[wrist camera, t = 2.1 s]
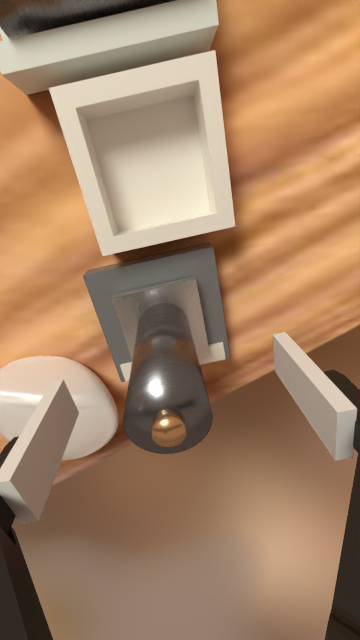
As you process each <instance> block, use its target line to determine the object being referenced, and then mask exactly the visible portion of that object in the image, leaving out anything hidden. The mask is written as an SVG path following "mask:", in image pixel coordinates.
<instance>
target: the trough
mask: <svg viewBox="0 0 360 640" xmlns="http://www.w3.org/2000/svg"><path fill="white" fill-rule="evenodd" d="M218 26H219V22H218V12H217V3H216V0H176V1H172V2H168V3H163V4H159V5H155V6H150V7H146V8H142V9H137V10H133V11H129V12H124V13H120V14H116V15H111V16H107V17H103V18H98V19H94V20H90V21H85V22H81V23H77V24H72V25H68V26H64V27H59V28H55V29H51V30H46V31H42V32H38V33H33V34H29V35H25V36H20V37H16V38H12V39H9V38H8V37H7V35H6V34H5V33H4V32H3V30H2V29H1V27H0V34H1V37H2V40H3V41H0V71H1V74H2V75H3V76H4V77H5V78H7V79H8V80H9V81H10V82H12V83H13V84H14V85H15V86H16V87H18V88H19V89H20V90H21V91H23V92H24V93H25V94H26V95H29V94H33V93H38V92H42V91H46V90H49V88H51V87H56V86H60V85H64V84H69V83H73V82H78V81H82V80H86V79H91V78H95V77H99V76H104V75H108V74H112V73H117V72H121V71H126V70H130V69H134V68H139V67H143V66H147V65H152V64H156V63H160V62H165V61H169V60H173V59H178V58H182V57H187V56H191V55H195V54H200V53H204V52H208V51H209V50H210V48H211V45H212V42H213V39H214V37H215V34H216V31H217V28H218Z"/></svg>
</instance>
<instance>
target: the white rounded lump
mask: <svg viewBox="0 0 360 640" xmlns="http://www.w3.org/2000/svg"><path fill="white" fill-rule="evenodd" d="M62 379H64V381H65V383H66V386H67V388H68V390H69V392H70V394H71V396H72V398H73V401H74V403H75V405H76V407H77V409H78V411H79V415H78V417H77V420H76V423H75V425H74V428H73V431H72V433H71V436H70V439H69V441H68V444H67V447H66V449H65V452H64V455H63V457H62V460H70V459H77V458H81V457H84V456H87V455H89V454H91V453H94V452H95V451H97V450H99V449H100V448H102V447H103V446H104V445H106V444H107V443H108V442H109V441H110V440H111V438H112V437H113V436H114V434H115V432H116V430H117V427H118V411H117V408H116V405H115V402H114V400H113V397H112V396H111V394H110V392H109V390H108V389H107V388H106V386H105V385H104V383H103V382H102V381H101V379H100V378H99V377H98V376H97V375H96V374H95V373H94V372H93V371H91V370H90V369H89V368H87V367H86V366H84V365H83V364H81V363H79V362H77V361H74V360H71V359H68V358H65V357H58V356H35V357H28V358H22V359H19V360H15V361H13V362H11V363H9V364H7V365H5V366H4V367H2V368H1V369H0V433H1V434H2V435H3V436H4V437H5V438H6V439H7V440H8V441H11V440H12V439H13V438H14V437H18V436H20V434H21V433H22V431H23V429H24V428H25V426H26V424H27V422H28V421H29V419H30V417H31V416H32V414H33V412H34V411H35V409H36V407H37V406H38V404H39V402H40V400H41V399H42V397H43V395H44V394H45V392H46V390H47V389H48V387H49V385H50V384H51V382H53V381H58V380H62Z"/></svg>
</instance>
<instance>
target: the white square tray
mask: <svg viewBox="0 0 360 640" xmlns="http://www.w3.org/2000/svg"><path fill="white" fill-rule="evenodd" d="M49 91H50V94H51V97H52V100H53V103H54V106H55V109H56V113H57V116H58V119H59V122H60V125H61V128H62V131H63V134H64V137H65V141H66V144H67V147H68V150H69V153H70V156H71V159H72V162H73V165H74V169H75V172H76V175H77V178H78V181H79V184H80V187H81V190H82V193H83V197H84V200H85V203H86V206H87V209H88V212H89V215H90V218H91V221H92V224H93V228H94V231H95V234H96V237H97V240H98V243H99V246H100V249H101V252H102V256H106V255H110V254H115V253H119V252H124V251H128V250H133V249H137V248H141V247H146V246H150V245H155V244H159V243H164V242H168V241H173V240H177V239H182V238H186V237H190V236H195V235H199V234H204V233H208V232H213V231H217V230H222V229H226V228H231V227H235V219H234V210H233V201H232V192H231V184H230V175H229V166H228V157H227V148H226V140H225V131H224V122H223V113H222V105H221V96H220V87H219V78H218V70H217V61H216V52H215V50H213V51H208V52H204V53H200V54H195V55H191V56H187V57H182V58H178V59H173V60H169V61H165V62H160V63H156V64H152V65H147V66H143V67H139V68H134V69H130V70H126V71H121V72H117V73H112V74H108V75H104V76H99V77H95V78H91V79H86V80H82V81H78V82H73V83H69V84H64V85H60V86H56V87H51V88H49Z"/></svg>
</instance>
